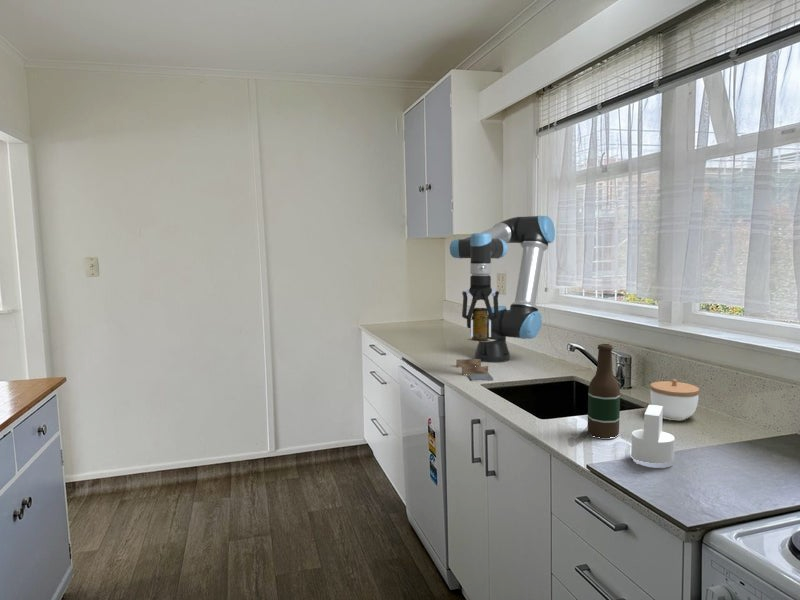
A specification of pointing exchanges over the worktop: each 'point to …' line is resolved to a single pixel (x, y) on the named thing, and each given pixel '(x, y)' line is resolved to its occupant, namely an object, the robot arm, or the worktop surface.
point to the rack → (471, 366)
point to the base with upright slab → (653, 439)
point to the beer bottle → (604, 397)
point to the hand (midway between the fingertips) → (480, 336)
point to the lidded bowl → (675, 398)
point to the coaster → (480, 376)
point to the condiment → (480, 325)
